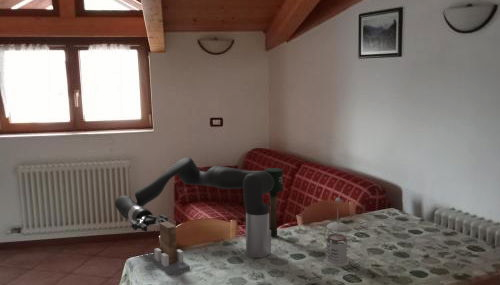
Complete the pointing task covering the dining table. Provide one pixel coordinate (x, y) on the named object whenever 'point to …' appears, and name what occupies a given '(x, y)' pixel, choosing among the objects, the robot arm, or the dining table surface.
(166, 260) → the hinge base
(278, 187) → the potato masher grenade
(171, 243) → the brown wooden block
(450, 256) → the dining table surface
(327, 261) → the french press
